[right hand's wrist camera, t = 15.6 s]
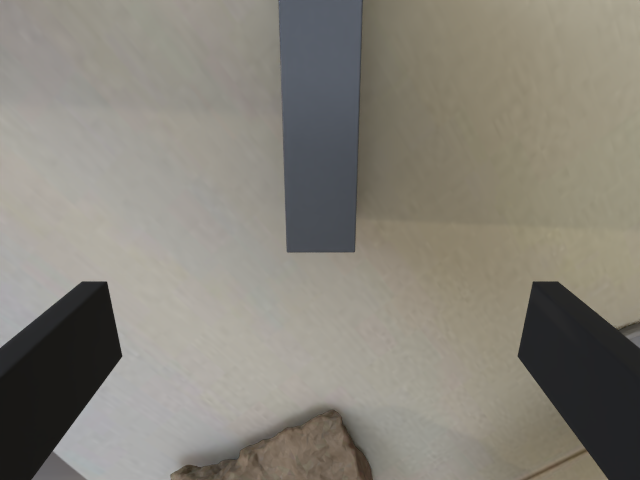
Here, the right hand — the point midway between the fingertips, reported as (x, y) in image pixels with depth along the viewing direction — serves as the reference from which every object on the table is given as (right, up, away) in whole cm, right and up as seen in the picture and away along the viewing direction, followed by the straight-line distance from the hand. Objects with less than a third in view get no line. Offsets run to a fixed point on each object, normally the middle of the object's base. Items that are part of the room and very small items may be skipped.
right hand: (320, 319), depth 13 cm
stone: (-5, -25, +36) cm, 44 cm away
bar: (0, +16, +21) cm, 26 cm away
